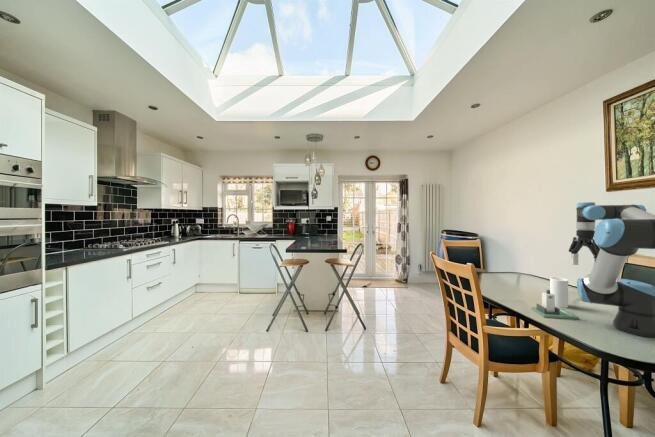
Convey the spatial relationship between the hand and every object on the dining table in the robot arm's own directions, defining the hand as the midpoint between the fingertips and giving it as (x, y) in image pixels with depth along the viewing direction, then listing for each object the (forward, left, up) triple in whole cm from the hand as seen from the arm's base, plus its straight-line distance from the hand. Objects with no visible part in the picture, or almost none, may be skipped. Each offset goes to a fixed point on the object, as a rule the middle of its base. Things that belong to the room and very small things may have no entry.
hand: (585, 267), depth 147 cm
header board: (-7, +20, -25) cm, 33 cm away
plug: (-7, +22, -24) cm, 33 cm away
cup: (+9, +8, -25) cm, 28 cm away
